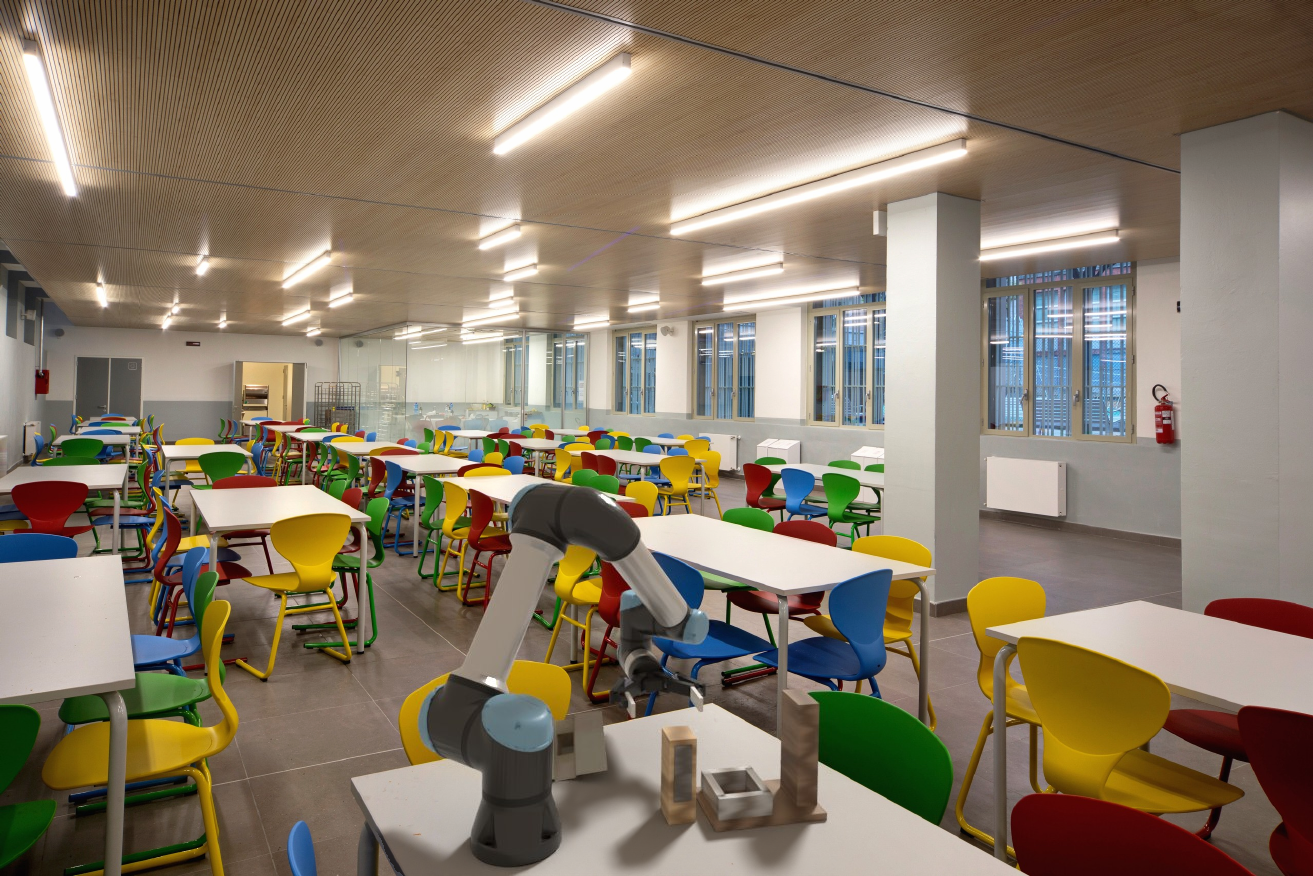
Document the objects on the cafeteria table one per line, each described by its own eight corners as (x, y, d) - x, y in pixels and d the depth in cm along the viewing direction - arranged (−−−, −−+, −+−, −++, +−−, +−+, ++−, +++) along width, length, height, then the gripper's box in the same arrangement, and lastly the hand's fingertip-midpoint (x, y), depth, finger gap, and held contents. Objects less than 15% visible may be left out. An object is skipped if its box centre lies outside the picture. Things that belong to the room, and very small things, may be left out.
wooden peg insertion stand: (715, 832, 132) (717, 718, 132) (693, 793, 146) (695, 690, 145) (826, 819, 137) (829, 709, 137) (795, 783, 151) (797, 683, 150)
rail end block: (668, 825, 134) (670, 741, 134) (660, 808, 140) (661, 727, 140) (696, 822, 135) (697, 739, 135) (686, 805, 141) (687, 725, 141)
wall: (614, 788, 156) (608, 719, 167) (609, 770, 150) (603, 700, 161) (534, 801, 155) (533, 731, 166) (526, 784, 149) (525, 712, 160)
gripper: (698, 684, 171) (728, 721, 150) (588, 692, 165) (604, 732, 145) (698, 651, 171) (728, 684, 150) (588, 658, 165) (604, 694, 145)
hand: (667, 708), depth 147 cm, fingers open, 13 cm apart
